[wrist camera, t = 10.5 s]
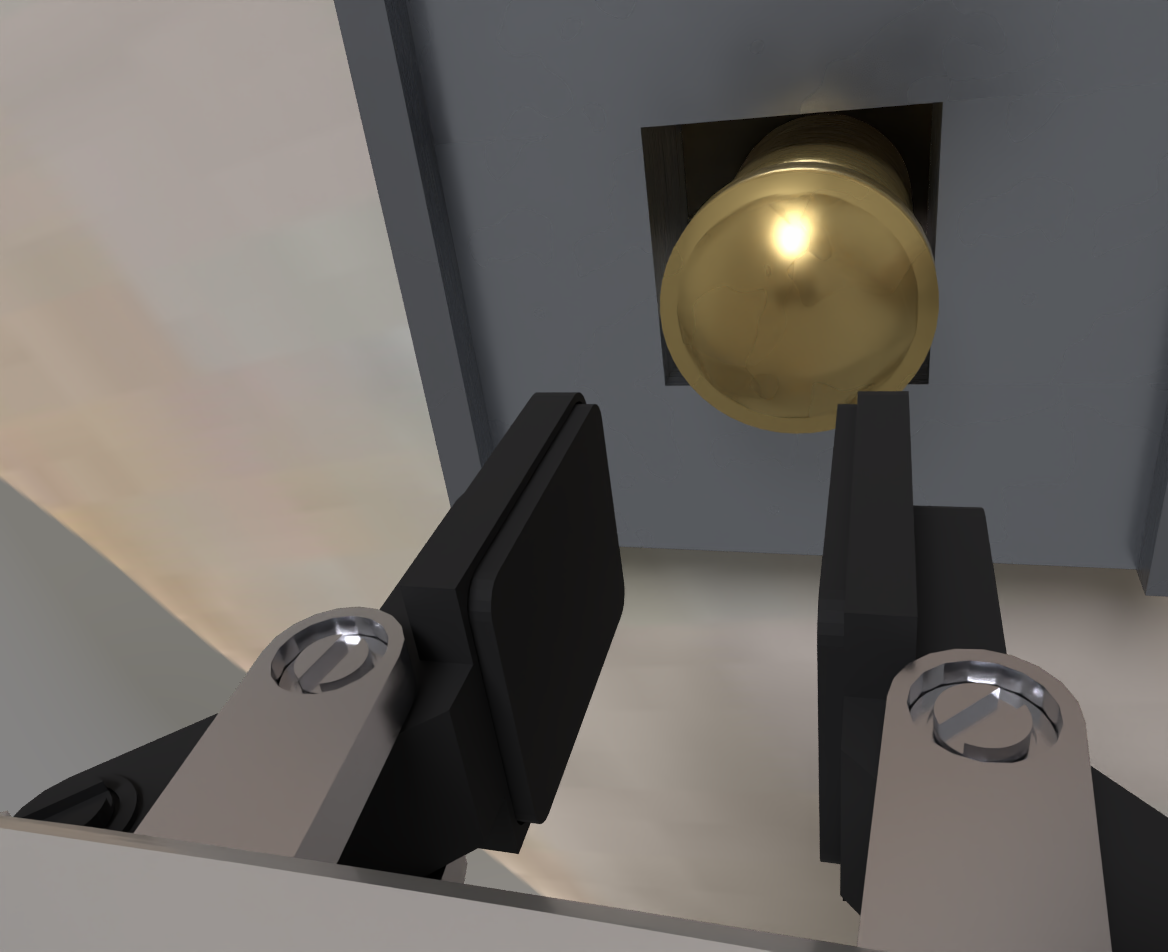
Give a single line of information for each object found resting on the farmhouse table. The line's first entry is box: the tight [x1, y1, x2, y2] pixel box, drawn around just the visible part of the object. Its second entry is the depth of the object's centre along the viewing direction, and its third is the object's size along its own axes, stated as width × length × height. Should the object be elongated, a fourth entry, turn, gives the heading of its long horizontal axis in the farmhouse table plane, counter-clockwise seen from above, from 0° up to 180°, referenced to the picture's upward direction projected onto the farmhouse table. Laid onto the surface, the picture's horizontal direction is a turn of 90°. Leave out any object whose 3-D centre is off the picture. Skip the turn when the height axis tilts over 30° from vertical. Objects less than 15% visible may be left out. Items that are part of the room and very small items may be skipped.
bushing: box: [660, 114, 939, 434], centre depth 19 cm, size 5×5×7 cm
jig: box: [334, 0, 1168, 596], centre depth 20 cm, size 14×16×5 cm
